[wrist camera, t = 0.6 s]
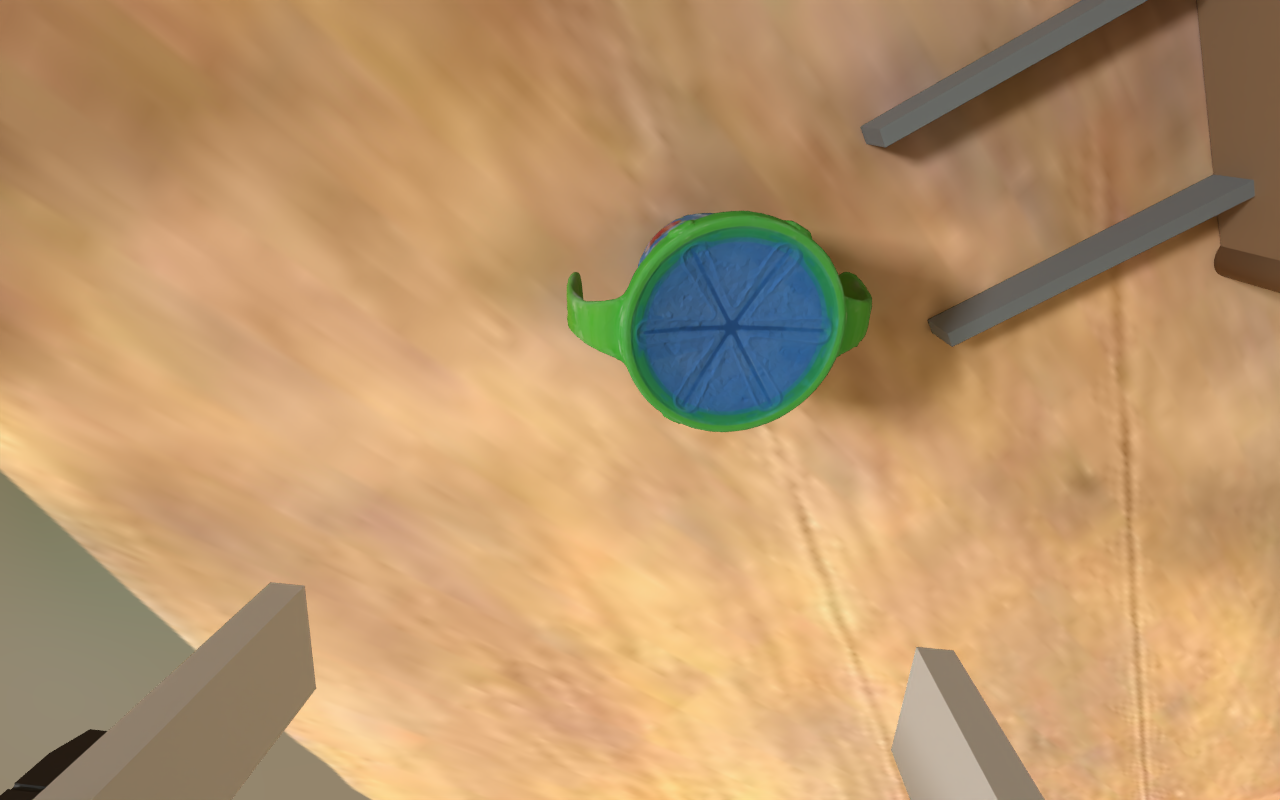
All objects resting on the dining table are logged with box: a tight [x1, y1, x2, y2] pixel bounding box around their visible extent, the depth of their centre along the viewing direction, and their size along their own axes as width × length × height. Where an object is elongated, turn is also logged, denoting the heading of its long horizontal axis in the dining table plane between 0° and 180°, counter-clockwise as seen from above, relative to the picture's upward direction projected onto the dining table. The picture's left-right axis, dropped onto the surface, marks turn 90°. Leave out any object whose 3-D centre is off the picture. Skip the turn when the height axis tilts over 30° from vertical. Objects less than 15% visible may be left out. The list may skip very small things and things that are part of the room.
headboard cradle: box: [861, 0, 1280, 347], centre depth 26 cm, size 27×20×22 cm
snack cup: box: [567, 211, 872, 432], centre depth 33 cm, size 16×10×10 cm
